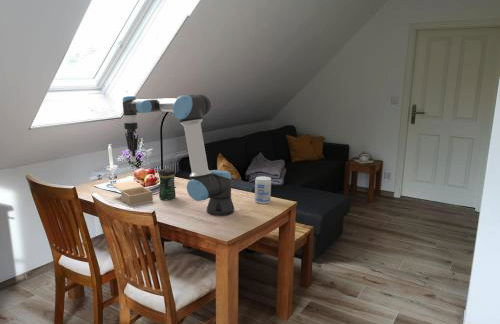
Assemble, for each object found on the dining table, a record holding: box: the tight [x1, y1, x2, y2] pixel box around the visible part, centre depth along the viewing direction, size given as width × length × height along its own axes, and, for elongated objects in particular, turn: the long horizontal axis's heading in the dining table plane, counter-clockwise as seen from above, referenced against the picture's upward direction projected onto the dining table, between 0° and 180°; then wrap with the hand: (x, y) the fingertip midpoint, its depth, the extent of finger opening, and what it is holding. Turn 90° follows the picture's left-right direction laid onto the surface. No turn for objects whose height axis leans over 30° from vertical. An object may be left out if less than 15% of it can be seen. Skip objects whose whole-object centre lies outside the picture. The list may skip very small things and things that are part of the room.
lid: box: [112, 180, 144, 192], centre depth 238 cm, size 12×14×1 cm
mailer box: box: [120, 186, 154, 207], centre depth 230 cm, size 12×14×6 cm
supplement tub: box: [254, 175, 272, 205], centre depth 232 cm, size 10×10×15 cm
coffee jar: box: [158, 167, 177, 201], centre depth 235 cm, size 10×8×19 cm
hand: (133, 161), depth 234 cm, fingers closed
